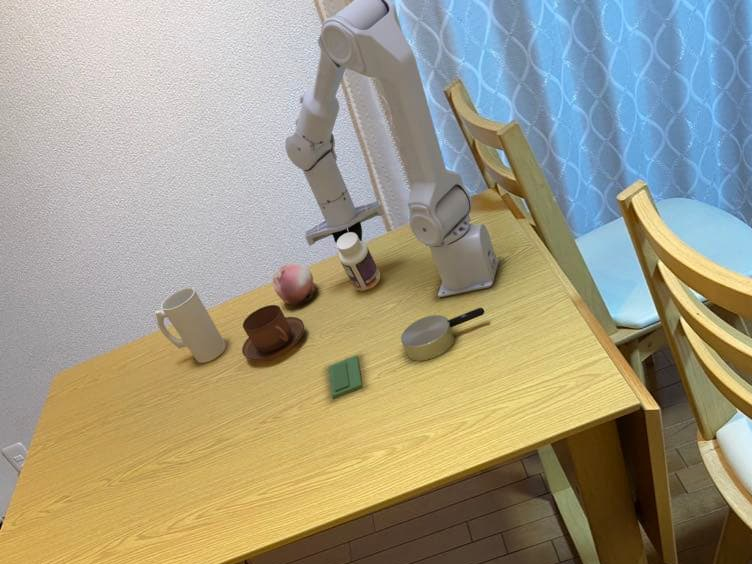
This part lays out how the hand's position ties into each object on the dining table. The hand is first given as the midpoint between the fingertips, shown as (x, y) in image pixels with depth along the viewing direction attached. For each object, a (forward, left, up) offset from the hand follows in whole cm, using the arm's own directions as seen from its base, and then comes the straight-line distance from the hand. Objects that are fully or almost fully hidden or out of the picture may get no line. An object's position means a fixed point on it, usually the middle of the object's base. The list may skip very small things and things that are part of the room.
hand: (361, 263), depth 158 cm
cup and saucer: (+13, +18, -3) cm, 22 cm away
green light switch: (-5, +32, -3) cm, 32 cm away
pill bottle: (-1, +3, -2) cm, 4 cm away
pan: (-21, +26, -3) cm, 33 cm away
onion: (+13, +3, -3) cm, 13 cm away
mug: (+30, +16, -3) cm, 34 cm away
